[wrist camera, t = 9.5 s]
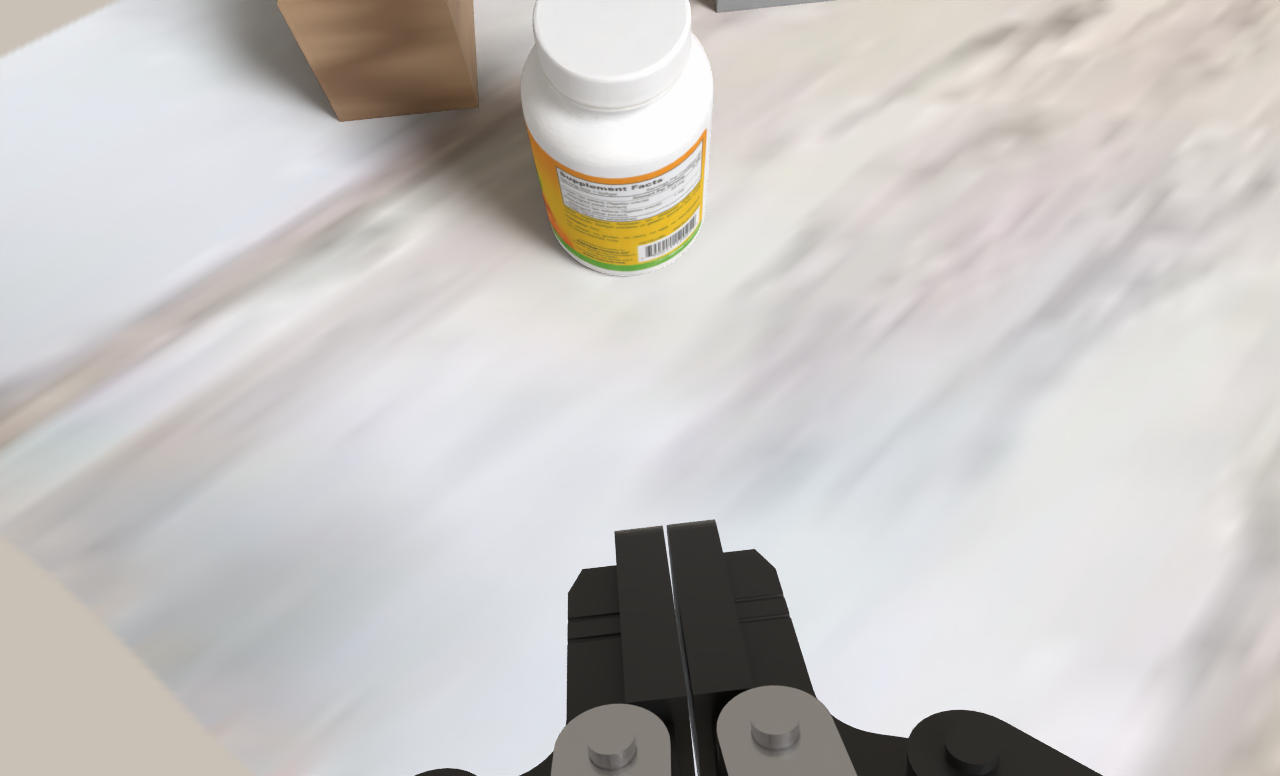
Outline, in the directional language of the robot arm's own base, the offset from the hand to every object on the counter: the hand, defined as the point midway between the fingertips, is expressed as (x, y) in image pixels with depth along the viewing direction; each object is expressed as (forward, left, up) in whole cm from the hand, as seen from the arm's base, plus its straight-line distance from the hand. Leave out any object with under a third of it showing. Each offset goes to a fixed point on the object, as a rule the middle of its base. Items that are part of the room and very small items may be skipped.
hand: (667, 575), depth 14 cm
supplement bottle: (0, +15, -15) cm, 21 cm away
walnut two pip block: (-7, +22, -15) cm, 28 cm away
